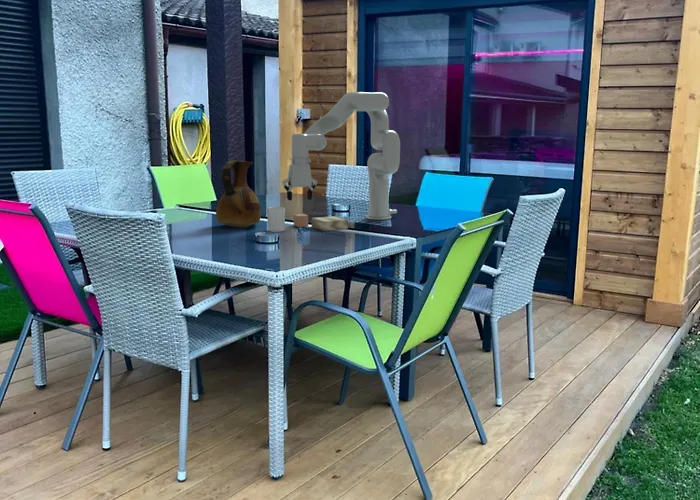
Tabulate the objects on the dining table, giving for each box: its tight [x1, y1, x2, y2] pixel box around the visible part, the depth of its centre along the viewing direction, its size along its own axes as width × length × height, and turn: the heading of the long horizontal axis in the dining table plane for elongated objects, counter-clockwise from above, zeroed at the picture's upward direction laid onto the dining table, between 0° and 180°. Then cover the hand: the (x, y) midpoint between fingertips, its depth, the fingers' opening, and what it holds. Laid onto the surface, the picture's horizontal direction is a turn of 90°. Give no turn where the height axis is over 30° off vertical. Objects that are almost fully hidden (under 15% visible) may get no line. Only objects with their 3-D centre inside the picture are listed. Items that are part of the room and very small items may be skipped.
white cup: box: [266, 206, 286, 233], centre depth 293 cm, size 8×8×10 cm
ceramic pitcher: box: [215, 159, 262, 228], centre depth 300 cm, size 20×20×30 cm
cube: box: [293, 213, 309, 228], centre depth 306 cm, size 5×5×5 cm
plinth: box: [311, 215, 349, 232], centre depth 301 cm, size 12×12×4 cm
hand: (299, 199), depth 304 cm, fingers open, 9 cm apart
